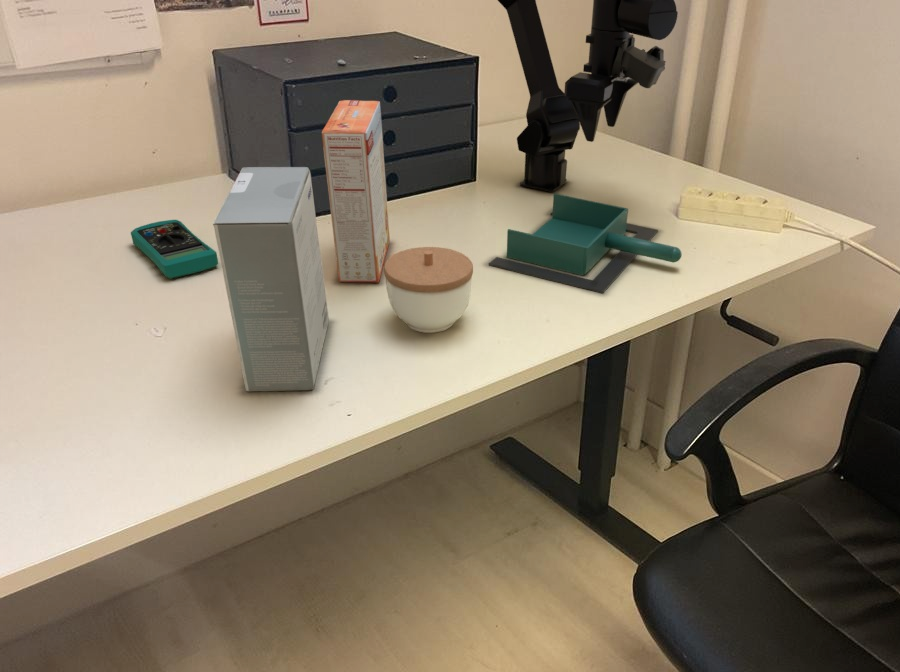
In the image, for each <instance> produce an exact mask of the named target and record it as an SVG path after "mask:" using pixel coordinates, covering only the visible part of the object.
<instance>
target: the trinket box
mask: <svg viewBox="0 0 900 672" xmlns="http://www.w3.org/2000/svg"><path fill="white" fill-rule="evenodd" d="M383 273H384V277H385V286H386V293H387V298H388V301H389V303H390V307H391V308H392V310H393V312H394V313H395V314H396V316H397V317H398V318H399V319H400V320H401V321H402V322H404V323H406V325H407V327H408V328H409V329H411V330H414V331H416V332H418V333H425V334H427V333H428V334H429V333H430V334H433V333H439V332H444V331H446V330H448V329H450V328H452V327H453V325H454V324H455V322H456V321H458V320H459V318H461V317H462V316H463V314H464V313H465V311H466V309H467V308H468V305H469V302H470V300H471V299H470V298H471V295H472V289H473V287H472V286H473V274H474V263H473V262H472V260H471V259H470V257H468V256H467V255H465V254H464V253H462V252H460V251H457V250H454V249H451V248H446V247H438V246H420V247H413V248H408V249H405V250H401V251H398V252H396V253H394V254H392V255H391V256H389V258H387V260H386V261H385V262H384V264H383Z"/></svg>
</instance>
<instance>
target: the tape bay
mask: <svg viewBox="0 0 900 672" xmlns="http://www.w3.org/2000/svg"><path fill="white" fill-rule="evenodd" d="M552 214H553V211H552V212H551V213H550V216H552ZM626 232H628V233H633V234H634V236H633V237H632V238H637V239H642V240H646V241H651V240H652V239H653V238H654V236H656V234H657V233H658V232H659V229H655V228H651V227H647V226H641V225H636V224H632V223H628V222H627V225H626ZM636 256H638V254H633V253H629V252H624V251H620V250H619V252H618V253H616V255H615V256H614V257H613V258H612V259H611V260H610V261H609V262H608V263H607V264H606V265H605V266H604V268H602V269H601V271H600V272H599V273H598V274H597V275H596V276H594V278H593V279H590V278H585V277H582V276H577V275H572V274H569V273H564V272H560V271H558V270H557V271H556V270H553V269H552V270H551V269H548V268H545V267H539V266H535V265H531V264H527V263H523V262H518V261H514V260H511V259H507V258H502V257H498V256H496V257H495V258H493V259H492V260H491V261H490V262H488V266H491V267H494V268H498V269H503V270H506V271H511V272H514V273H519V274H523V275H526V276H531V277H535V278H539V279H544V280H547V281H552V282H555V283H558V284H564V285H567V286H572V287H575V288H578V289H579V288H581V289H583V290H587V291H592V292H596V293H598V294H599V293H600V294H604V293H605V292H606V291H607V289H608V288H609V287H610V286H611V285H612V284H613V283H614V281H616V279H617V278H618V277H619V276H620V275H621V274H622V273H623V272H624V271H625V269H626V268H627V267H628V266H629V265H630V264H631V263H632V261H633V260H635V258H636Z"/></svg>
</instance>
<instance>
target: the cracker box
mask: <svg viewBox="0 0 900 672" xmlns="http://www.w3.org/2000/svg"><path fill="white" fill-rule="evenodd" d="M381 111H382V110H381V102H380V101H379V100H358V99H343V100H339V101H338V102H337V105H336V106H335V108H334V110H333V111H332V113H331V115H330V117H329V119H328V120H327V122H326V124H325V126H324V127H323V129H322V131H321V139H322V140H321V141H322V148H323V157H324V167H325V174H326V182H327V191H328V199H329V210H330V217H331V226H332V234H333V243H334V245H333V246H334V252H335V259H336V269H337V270H336V271H337V279H338V283H379V282H380V279H381V276H382V271H383V269H384V265H385V260H386V256H387V253H388V248H389V245H390V237H391V236H390V225H389V222H390V221H389V209H388V197H387V181H386V169H385V168H386V167H385V155H384V153H385V152H384V140H383V139H384V137H383V123H382V112H381Z"/></svg>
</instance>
